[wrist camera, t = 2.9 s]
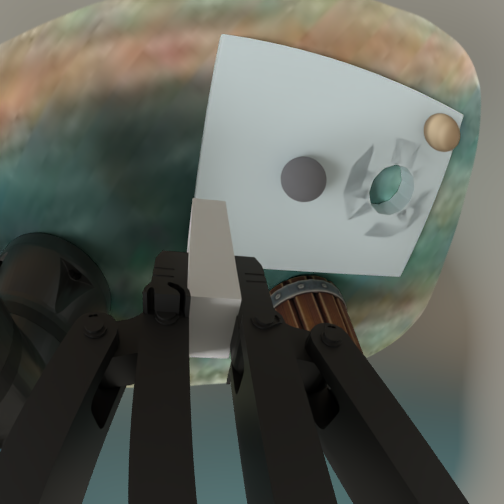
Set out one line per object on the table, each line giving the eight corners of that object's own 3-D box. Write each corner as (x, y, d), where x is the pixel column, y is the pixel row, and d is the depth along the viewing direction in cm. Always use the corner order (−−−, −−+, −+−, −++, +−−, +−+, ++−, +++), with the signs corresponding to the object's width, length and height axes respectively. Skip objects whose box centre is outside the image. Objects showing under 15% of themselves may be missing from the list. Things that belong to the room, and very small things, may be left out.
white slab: (188, 248, 31) (188, 263, 29) (220, 37, 21) (221, 33, 18) (390, 264, 36) (399, 276, 34) (448, 109, 26) (463, 114, 24)
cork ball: (411, 139, 25) (435, 151, 22) (421, 104, 23) (446, 112, 20) (437, 149, 26) (460, 161, 23) (447, 116, 24) (471, 126, 21)
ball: (271, 188, 26) (281, 206, 23) (281, 147, 24) (293, 160, 21) (311, 194, 27) (325, 212, 24) (322, 155, 25) (339, 169, 22)
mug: (311, 255, 34) (367, 367, 21) (352, 303, 39) (401, 399, 27) (206, 329, 38) (215, 442, 25) (258, 363, 43) (279, 458, 31)
